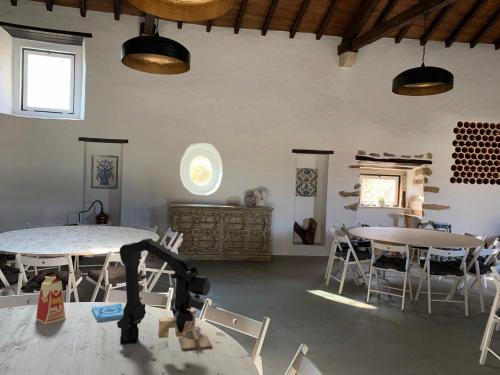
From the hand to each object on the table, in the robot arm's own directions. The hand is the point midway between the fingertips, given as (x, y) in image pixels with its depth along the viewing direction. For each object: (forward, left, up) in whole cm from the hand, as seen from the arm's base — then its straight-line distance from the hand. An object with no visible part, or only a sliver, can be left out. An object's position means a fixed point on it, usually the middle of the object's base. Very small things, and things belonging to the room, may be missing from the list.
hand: (180, 330), depth 149 cm
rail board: (+8, +8, -9) cm, 15 cm away
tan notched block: (-3, 0, -2) cm, 3 cm away
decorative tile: (-26, +45, -10) cm, 53 cm away
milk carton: (-51, +42, -9) cm, 67 cm away
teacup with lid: (+7, +24, -9) cm, 27 cm away
